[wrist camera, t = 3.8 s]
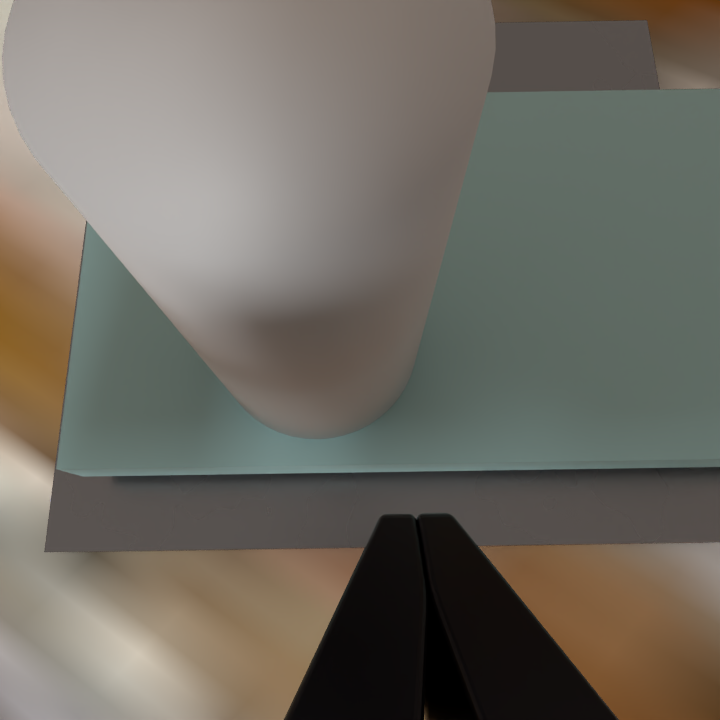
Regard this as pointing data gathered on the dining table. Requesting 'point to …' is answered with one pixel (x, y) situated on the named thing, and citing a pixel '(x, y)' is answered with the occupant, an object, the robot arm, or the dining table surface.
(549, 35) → the panel
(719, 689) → the dining table surface
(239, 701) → the dining table surface
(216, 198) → the teal plank with post
